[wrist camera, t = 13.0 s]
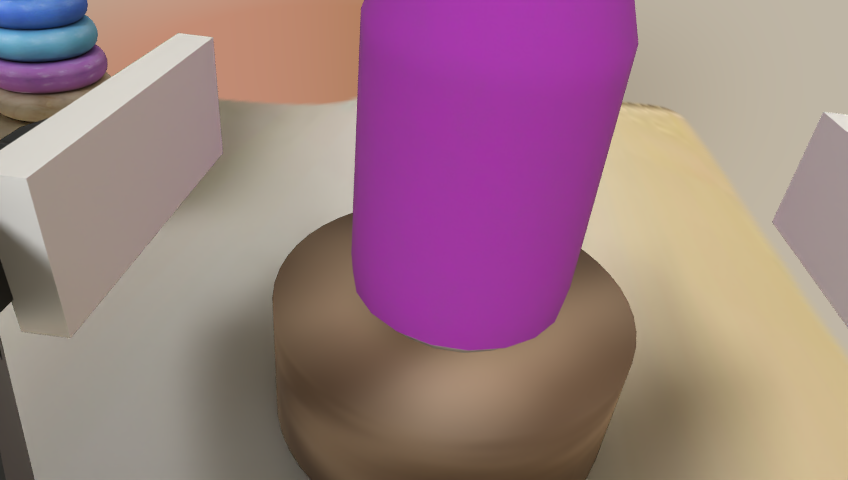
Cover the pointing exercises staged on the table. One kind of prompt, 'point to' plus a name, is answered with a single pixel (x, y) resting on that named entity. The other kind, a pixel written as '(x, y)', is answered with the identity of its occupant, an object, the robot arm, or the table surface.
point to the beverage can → (481, 159)
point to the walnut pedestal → (440, 381)
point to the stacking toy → (46, 57)
